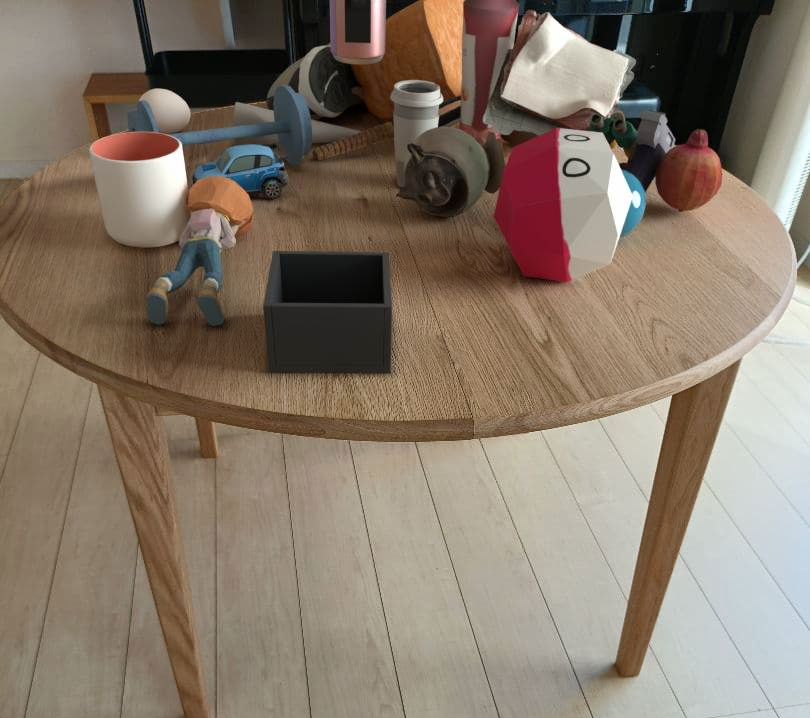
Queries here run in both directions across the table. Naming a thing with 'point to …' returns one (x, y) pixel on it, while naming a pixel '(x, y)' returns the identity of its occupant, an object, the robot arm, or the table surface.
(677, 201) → the fruit
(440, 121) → the throwing knife
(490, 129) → the liquor
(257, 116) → the long tapered cone
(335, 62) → the running shoe
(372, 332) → the trash bin
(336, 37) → the beverage can
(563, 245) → the decorative object
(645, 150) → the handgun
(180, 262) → the figurine
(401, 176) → the cup
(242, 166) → the toy car
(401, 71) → the bread
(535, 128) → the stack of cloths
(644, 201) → the ball
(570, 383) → the table surface
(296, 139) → the dumbbell
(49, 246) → the table surface
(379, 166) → the table surface
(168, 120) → the egg
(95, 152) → the cup
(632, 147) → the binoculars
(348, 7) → the robot arm
